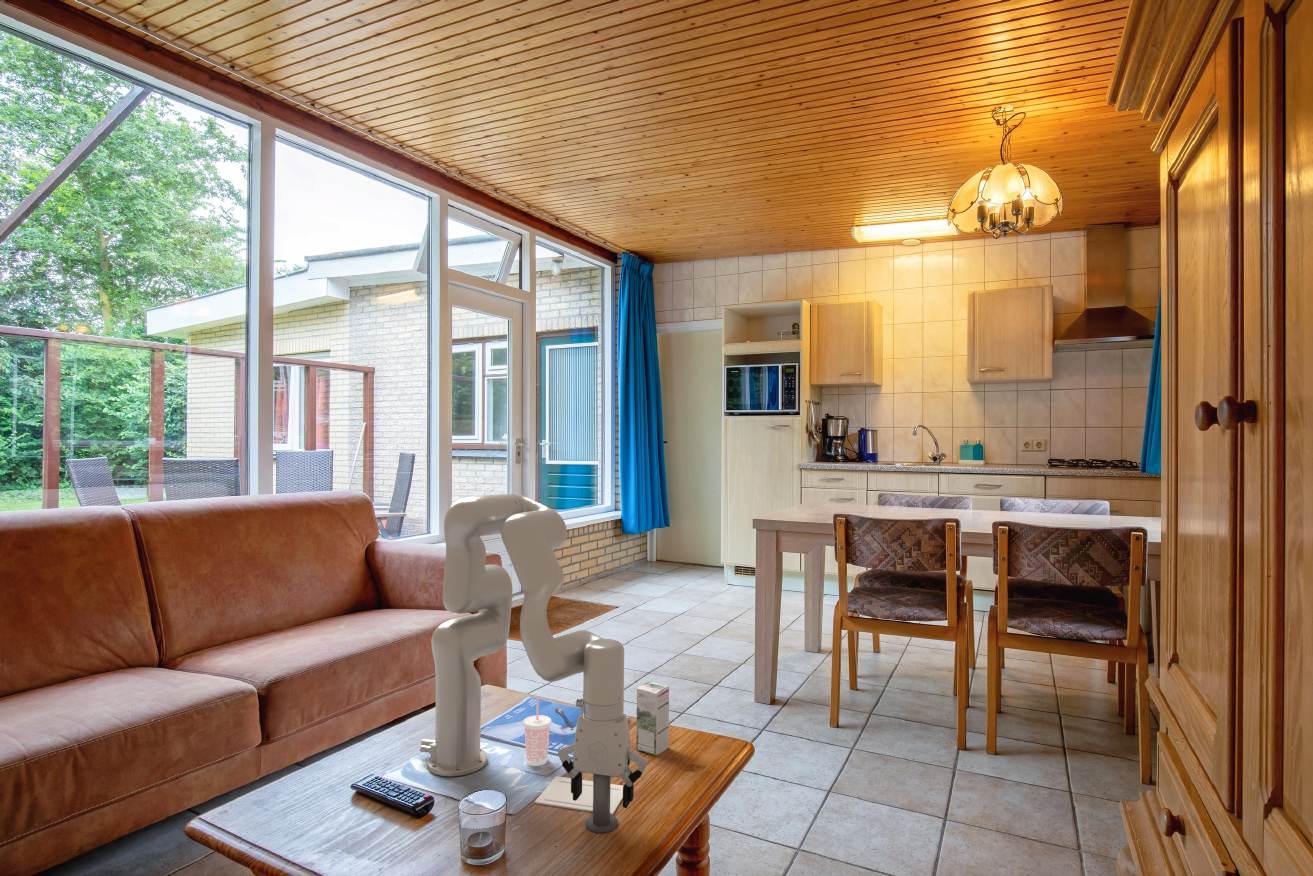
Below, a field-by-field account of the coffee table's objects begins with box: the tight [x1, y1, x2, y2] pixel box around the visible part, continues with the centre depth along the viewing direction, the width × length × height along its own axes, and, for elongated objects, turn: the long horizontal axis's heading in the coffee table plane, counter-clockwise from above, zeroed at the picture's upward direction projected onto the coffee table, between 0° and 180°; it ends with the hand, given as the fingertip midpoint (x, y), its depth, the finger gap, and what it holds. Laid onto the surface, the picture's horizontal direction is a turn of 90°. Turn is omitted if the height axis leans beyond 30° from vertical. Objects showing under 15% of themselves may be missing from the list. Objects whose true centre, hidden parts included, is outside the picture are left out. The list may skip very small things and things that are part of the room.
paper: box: [534, 776, 624, 816], centre depth 143 cm, size 16×11×1 cm
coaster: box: [584, 814, 619, 834], centre depth 132 cm, size 6×6×1 cm
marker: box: [592, 774, 612, 827], centre depth 132 cm, size 3×3×11 cm
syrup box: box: [635, 681, 670, 756], centre depth 165 cm, size 6×6×14 cm
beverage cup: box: [522, 697, 552, 767], centre depth 158 cm, size 6×6×14 cm
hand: (601, 800), depth 132 cm, fingers open, 9 cm apart
